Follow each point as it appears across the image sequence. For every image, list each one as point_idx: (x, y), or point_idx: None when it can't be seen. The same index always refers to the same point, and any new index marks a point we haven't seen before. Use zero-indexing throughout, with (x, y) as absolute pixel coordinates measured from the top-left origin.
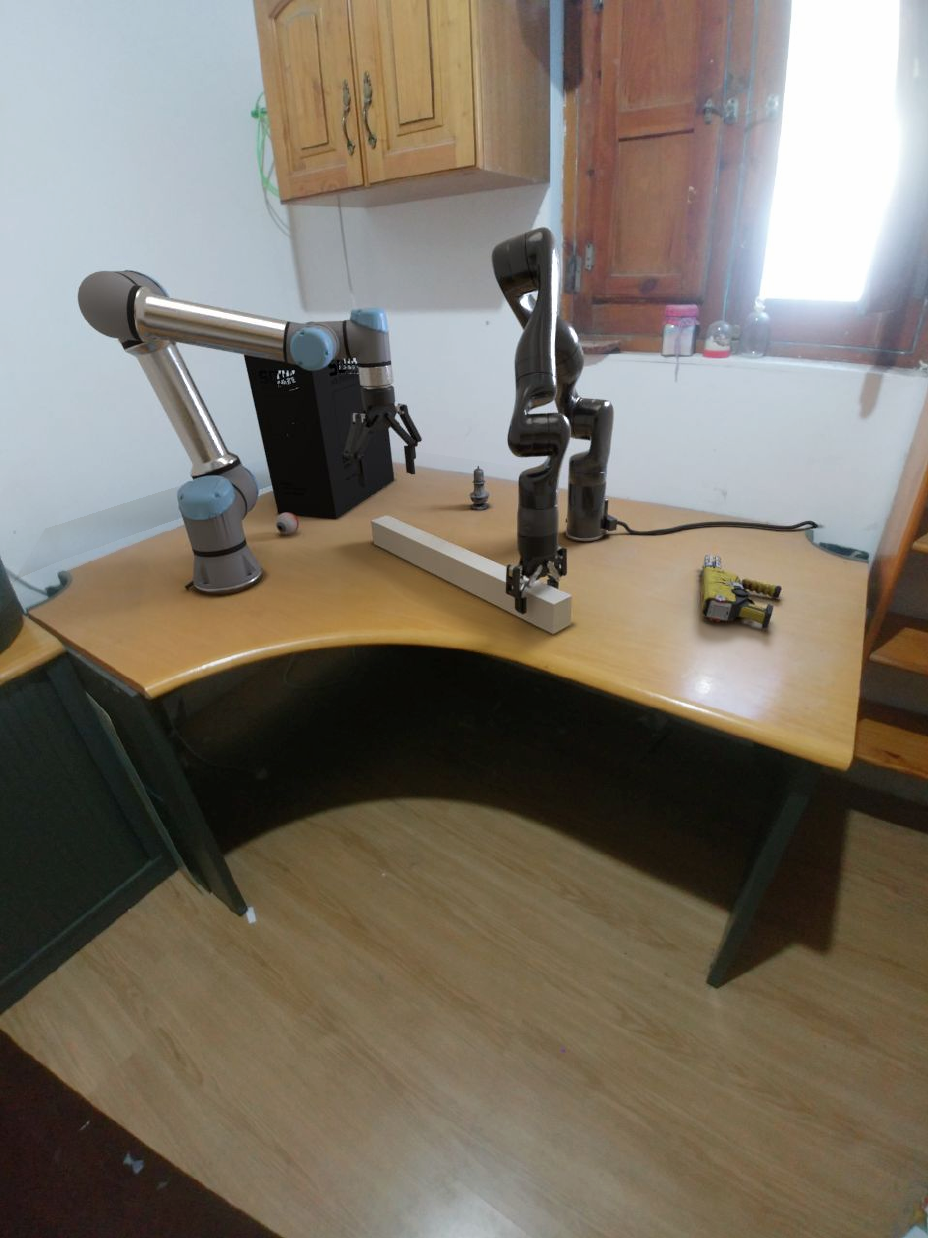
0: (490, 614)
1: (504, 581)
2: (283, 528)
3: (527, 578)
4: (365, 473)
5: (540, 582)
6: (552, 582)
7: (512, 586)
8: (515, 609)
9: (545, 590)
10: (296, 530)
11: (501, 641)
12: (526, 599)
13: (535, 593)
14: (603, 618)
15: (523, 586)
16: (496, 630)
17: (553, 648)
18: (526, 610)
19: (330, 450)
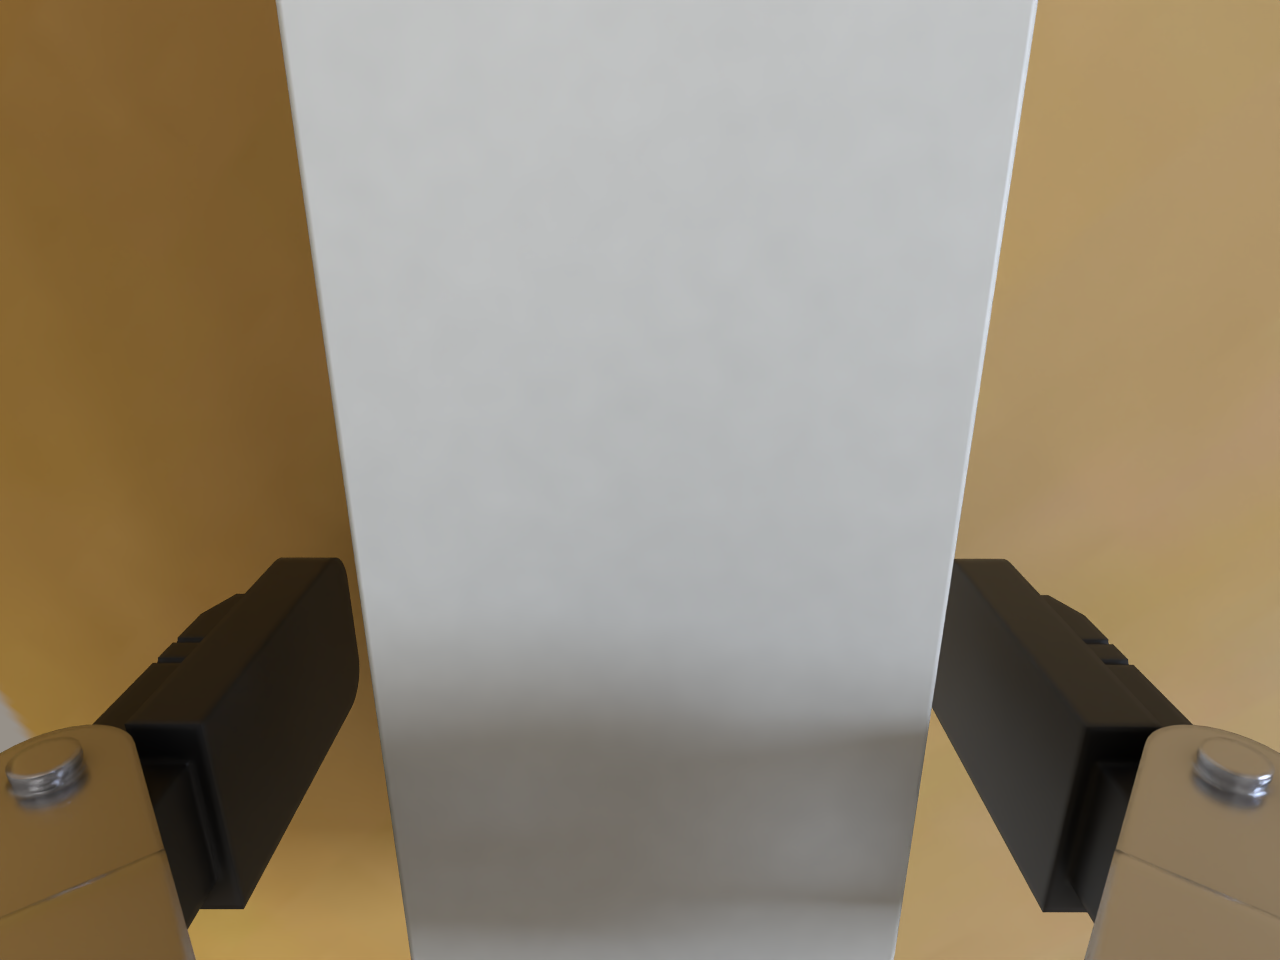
0: (229, 32)
1: (288, 6)
2: None
3: (879, 357)
4: None
5: (903, 698)
6: (1052, 847)
7: (331, 362)
8: (223, 608)
9: (696, 946)
10: None
11: (19, 611)
12: (262, 867)
13: (472, 914)
14: (1071, 937)
15: (497, 582)
16: (83, 416)
17: (367, 956)
18: (341, 722)
19: None
